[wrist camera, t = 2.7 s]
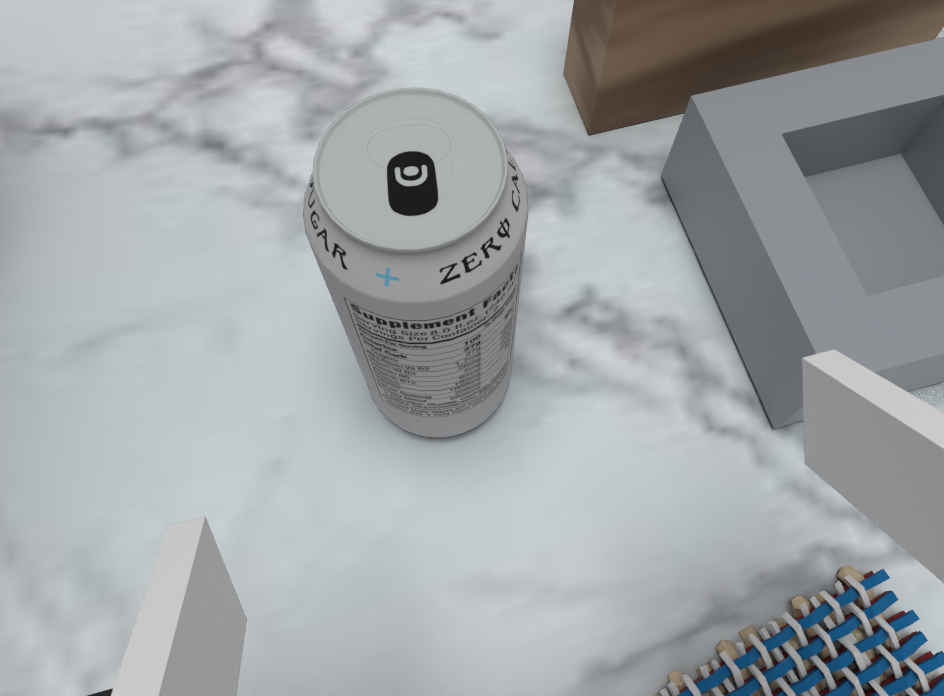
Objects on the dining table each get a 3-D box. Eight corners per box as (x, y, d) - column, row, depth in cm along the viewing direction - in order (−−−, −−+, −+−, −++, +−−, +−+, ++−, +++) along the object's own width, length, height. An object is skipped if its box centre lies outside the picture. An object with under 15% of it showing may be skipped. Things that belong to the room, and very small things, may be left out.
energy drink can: (501, 306, 34) (516, 59, 20) (518, 436, 31) (548, 259, 18) (366, 319, 34) (286, 79, 20) (373, 451, 31) (289, 284, 17)
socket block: (1054, 350, 32) (1161, 293, 27) (773, 429, 31) (831, 384, 26) (909, 115, 37) (977, 29, 32) (661, 175, 36) (691, 95, 31)
